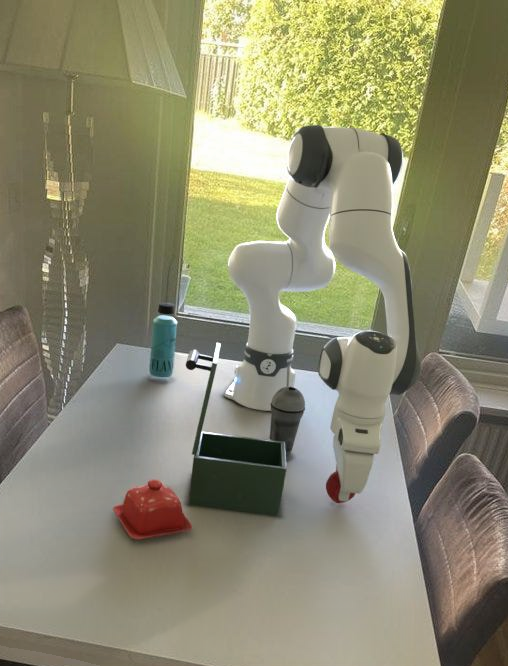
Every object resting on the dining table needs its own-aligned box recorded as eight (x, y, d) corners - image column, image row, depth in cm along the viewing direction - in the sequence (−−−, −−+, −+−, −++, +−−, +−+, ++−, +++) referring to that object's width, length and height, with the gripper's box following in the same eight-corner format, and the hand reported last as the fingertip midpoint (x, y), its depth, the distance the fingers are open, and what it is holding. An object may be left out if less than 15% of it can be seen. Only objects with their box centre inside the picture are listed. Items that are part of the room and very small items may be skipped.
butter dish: (109, 511, 124) (112, 469, 120) (169, 503, 128) (173, 462, 124) (131, 546, 115) (134, 502, 111) (195, 536, 119) (200, 493, 115)
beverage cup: (295, 465, 147) (311, 375, 137) (260, 459, 147) (275, 370, 138) (296, 451, 153) (313, 364, 143) (264, 445, 154) (278, 359, 144)
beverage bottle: (146, 381, 182) (151, 305, 173) (151, 372, 188) (156, 299, 179) (170, 384, 182) (176, 308, 172) (174, 376, 188) (181, 302, 178)
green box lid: (221, 343, 125) (193, 336, 125) (217, 363, 115) (186, 356, 115) (201, 429, 134) (174, 423, 134) (196, 455, 123) (167, 449, 123)
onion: (355, 512, 131) (364, 475, 127) (325, 509, 130) (333, 472, 127) (349, 496, 136) (358, 460, 132) (320, 494, 136) (328, 457, 132)
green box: (277, 486, 138) (284, 441, 133) (278, 516, 128) (286, 469, 123) (194, 475, 139) (199, 430, 134) (188, 504, 128) (193, 457, 124)
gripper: (334, 399, 134) (320, 462, 141) (344, 445, 116) (328, 515, 123) (366, 403, 134) (351, 466, 141) (382, 450, 116) (364, 520, 123)
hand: (340, 489), depth 132 cm, fingers closed on onion, 6 cm apart
